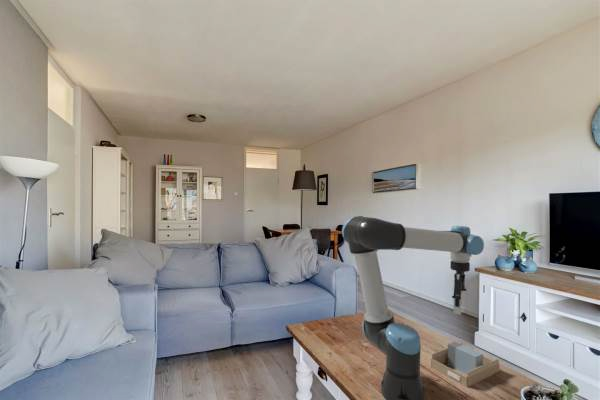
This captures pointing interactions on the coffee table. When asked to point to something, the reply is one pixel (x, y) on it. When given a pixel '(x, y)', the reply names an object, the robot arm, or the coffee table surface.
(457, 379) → the wooden tray
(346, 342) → the coffee table surface
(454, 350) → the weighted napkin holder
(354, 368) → the coffee table surface
